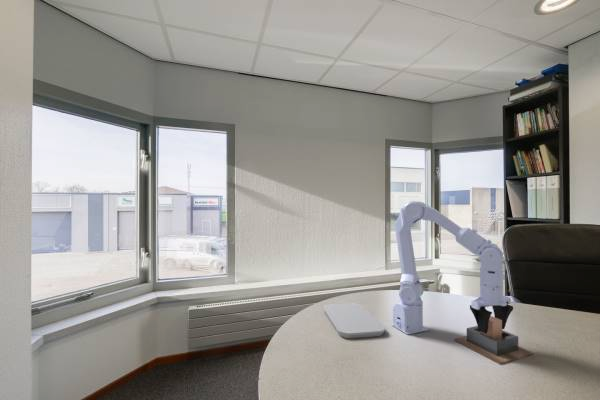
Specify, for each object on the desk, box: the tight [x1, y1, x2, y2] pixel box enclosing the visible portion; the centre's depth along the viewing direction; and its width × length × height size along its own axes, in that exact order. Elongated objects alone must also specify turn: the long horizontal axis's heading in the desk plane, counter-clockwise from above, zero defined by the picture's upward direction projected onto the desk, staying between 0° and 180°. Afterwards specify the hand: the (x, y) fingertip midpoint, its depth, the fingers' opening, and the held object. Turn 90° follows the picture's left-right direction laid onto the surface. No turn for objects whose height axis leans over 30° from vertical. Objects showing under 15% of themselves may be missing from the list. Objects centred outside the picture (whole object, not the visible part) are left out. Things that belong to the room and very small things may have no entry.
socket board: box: [454, 325, 534, 365], centre depth 83 cm, size 14×14×4 cm
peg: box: [480, 315, 503, 339], centre depth 83 cm, size 4×4×8 cm
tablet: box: [322, 302, 386, 339], centre depth 101 cm, size 16×26×2 cm, turn 9°
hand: (491, 329), depth 83 cm, fingers open, 7 cm apart
